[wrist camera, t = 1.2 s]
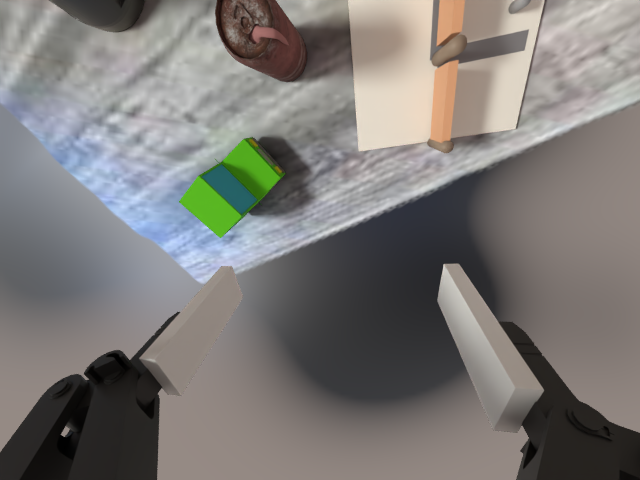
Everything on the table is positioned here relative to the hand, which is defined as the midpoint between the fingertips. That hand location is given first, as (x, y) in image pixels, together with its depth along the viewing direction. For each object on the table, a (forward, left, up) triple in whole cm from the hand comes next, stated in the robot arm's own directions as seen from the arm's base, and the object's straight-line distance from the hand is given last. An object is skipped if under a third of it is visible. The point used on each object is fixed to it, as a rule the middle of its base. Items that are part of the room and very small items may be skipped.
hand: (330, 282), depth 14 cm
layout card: (-14, +13, -28) cm, 34 cm away
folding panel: (-8, +13, -28) cm, 32 cm away
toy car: (-2, -18, -29) cm, 34 cm away
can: (-18, -7, -29) cm, 34 cm away
